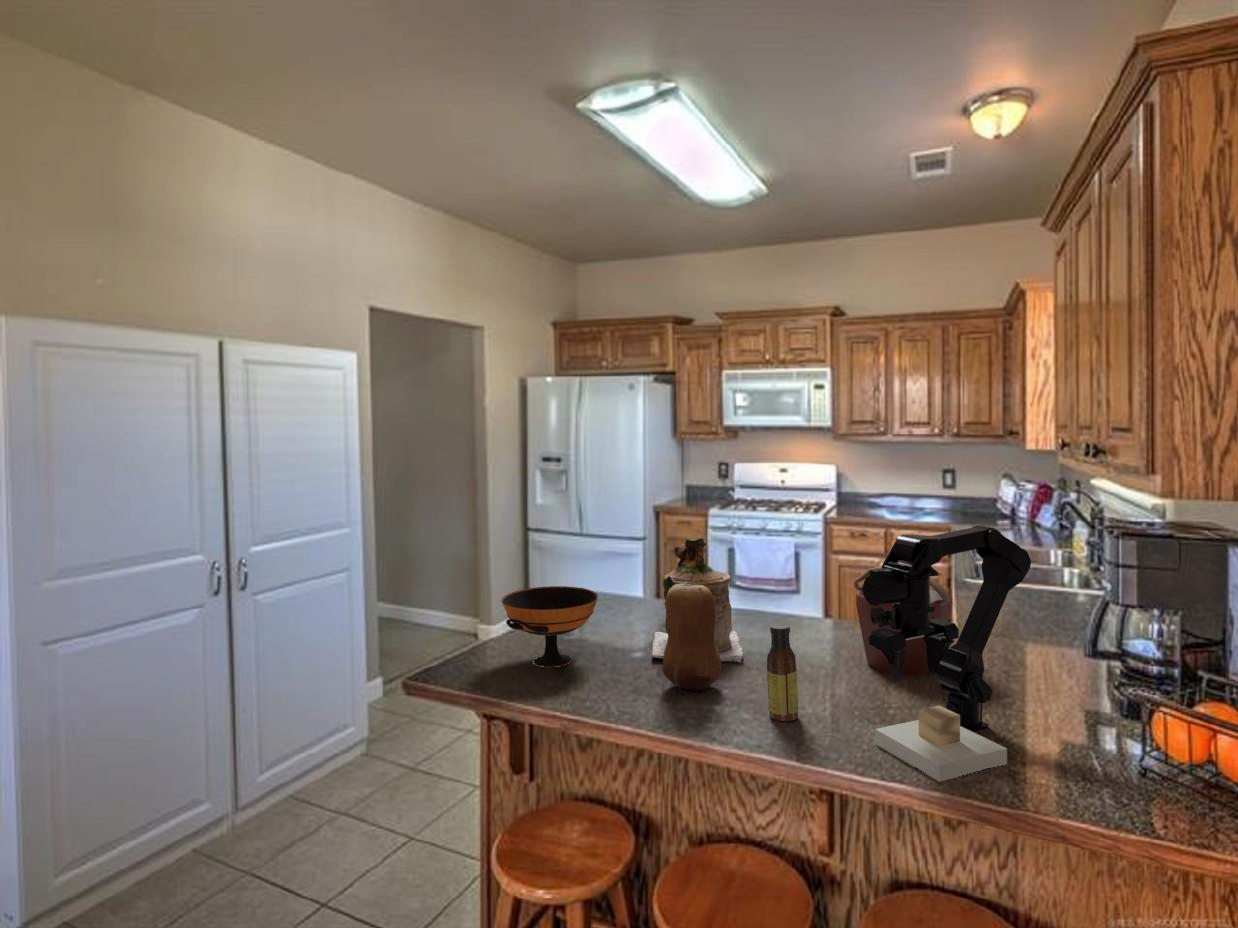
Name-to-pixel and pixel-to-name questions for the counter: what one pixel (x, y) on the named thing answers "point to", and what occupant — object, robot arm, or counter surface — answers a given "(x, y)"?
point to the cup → (549, 615)
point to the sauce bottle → (782, 676)
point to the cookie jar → (717, 582)
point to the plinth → (940, 751)
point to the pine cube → (939, 725)
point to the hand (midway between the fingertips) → (914, 676)
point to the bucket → (914, 648)
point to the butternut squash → (690, 637)
